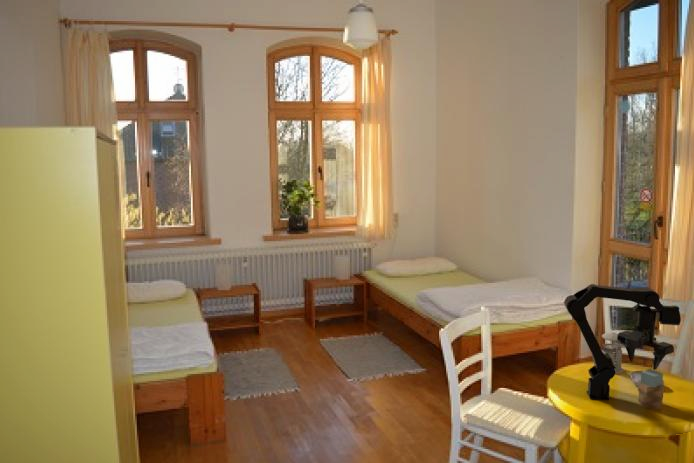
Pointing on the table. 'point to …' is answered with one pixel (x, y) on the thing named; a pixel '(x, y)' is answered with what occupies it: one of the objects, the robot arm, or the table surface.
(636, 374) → the stone block
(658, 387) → the tower mid
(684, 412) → the table surface
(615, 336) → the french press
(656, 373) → the slate block
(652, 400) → the tower base
